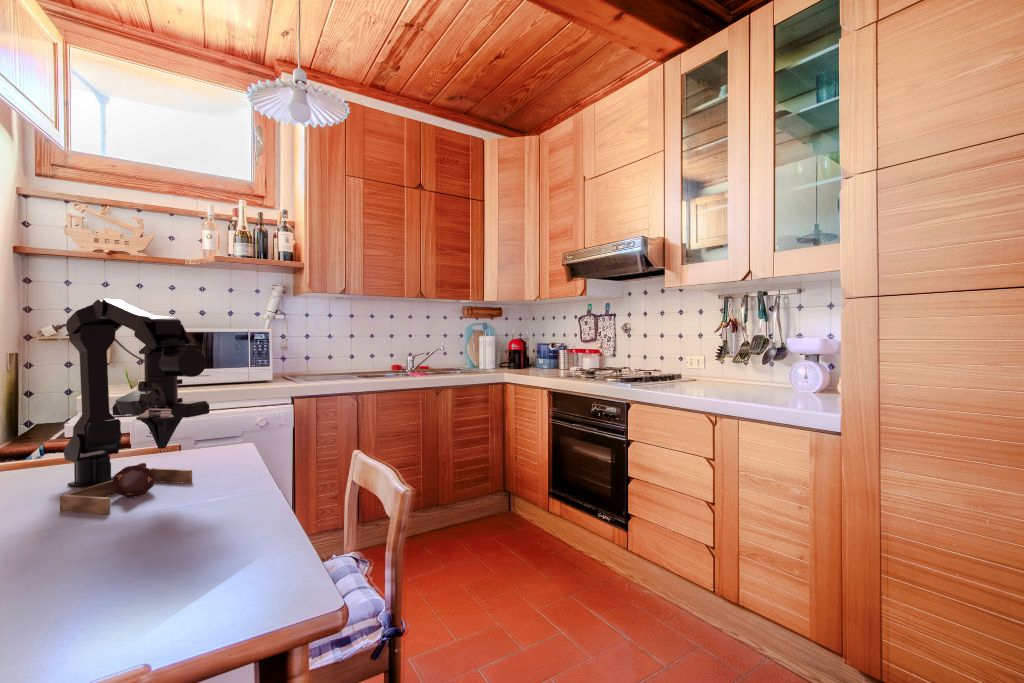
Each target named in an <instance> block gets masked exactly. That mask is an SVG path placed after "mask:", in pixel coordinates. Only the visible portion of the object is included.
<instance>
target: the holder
mask: <svg viewBox="0 0 1024 683" xmlns="http://www.w3.org/2000/svg"><path fill="white" fill-rule="evenodd" d="M149 469H150V470H151V471H152V473H153V476H154V478H155V481H163V482H162V483H171V482H180V483H179V484H188V483H190V484H192V483H193V470H192V469H181V468H179V469H178V468H164V467H162V468H161V467H151V468H149ZM112 481H113V480H111V481H107V482H104V483H101V484H97V485H94V486H91V487H83V488H82V489H78V490H75V491H71V492H69V493H65V494H61V495H59V512H67V511H72V512H71V513H80V512H85V513H84V514H94V513H97V514H98V515H108V514H111V497H110V496H113V495H116V494H117V493H116V492H115V489H114V485H113V484H112ZM181 482H183V483H181ZM191 482H192V483H191Z"/></svg>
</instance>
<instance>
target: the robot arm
mask: <svg viewBox="0 0 1024 683" xmlns="http://www.w3.org/2000/svg"><path fill="white" fill-rule="evenodd" d="M65 327H66V331H67V334H68V339H69V342H70V343H71V345H73V347H74V348H75V349H76V350H77V352H79V370H80V372H79V373H80V374H79V376H80V395H81V415H80V417H79V418H78V420H77V421H76V423H75V424H74V426H73V428H72V436H71V438H70V440H69V441H68V443H67V445H66V446H65V448H63V457H64V460H65V461H69V462H70V461H71V462H74V463H73V464H74V466H73V468H74V470H73V471H74V481H71V482H68V483H66V485H67V486H68V487H83V488H88V487H91V486H94V485H97V484H101V483H104V482H107V481H111V480H113V477H114V476H112V462H111V455H117V454H119V452H120V447H121V444H122V443H121V442H122V438H123V435H122V430H121V429H122V428H121V421H120V419H119V418H115V417H116V416H120V417H121V416H122V417H123V416H126V415H127V416H128V415H129V416H130V415H131V416H137V417H135V420H137V421H140V422H142V423H144V424H146V426H147V427H148V430H149V432H150V433H151V435H152V437H153V440H154V442H155V444H156V447H157V448H158V449H159V450H163V449H166V448H167V446H168V445H169V442H170V440H171V438H172V436H173V434H174V432H175V431H176V429H177V427H178V426H179V424H180V423H181V421H182V419H183V418H188V419H189V418H193V417H198V416H203V415H208V414H210V404H209V403H208V401H206V400H188V401H183V397H179V393H178V390H179V388H178V385H182V384H183V378H182V377H185V378H194V377H197V376H199V375H201V374H202V373H203V372H204V370H206V366H207V360H206V359H205V356H204V354H203V353H202V352H201V351H199V350H198V349H197V344H196V343H193V341H192V339H191V338H190V336H189V335H188V333H187V330H186V329H185V327H184V325H183V324H182V321H181V319H179V318H178V317H176V316H175V317H174V316H167V315H158V314H157V315H156V314H151V313H149V312H147V311H145V310H142V309H140V308H138V307H136V306H134V305H131V304H128V303H127V302H126V301H125V300H122V299H116V298H115V299H111V298H100V299H97V300H95V301H94V302H93V303H92V304H89V305H87V306H85V307H83V308H79V309H77V310H76V311H74V312H73V314H71V316H70V317H69V318H68V319H67V320H66V323H65ZM122 327H125V328H128V329H130V330H132V331H133V332H134V333H133V336H134V337H135V339H137V340H138V341H140V342H141V343H142V344H144V346H143V347H142V348H140V350H138V354H139V355H143V358H144V361H143V362H144V363H143V364H144V368H143V369H144V380H141V381H138V384H137V389H136V390H134V391H131V392H129V393H127V394H125V395H123V396H121V397H119V398H117V399H116V400H115V403H114V404H113V405H112V413H111V412H110V394H109V392H110V391H109V374H108V373H109V369H108V368H109V367H108V350H109V349H110V347H112V345H113V343H114V342H115V340H116V333H117V331H118V330H119V329H121V328H122ZM179 377H181V379H180V378H179Z"/></svg>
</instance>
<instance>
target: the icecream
mask: <svg viewBox="0 0 1024 683" xmlns="http://www.w3.org/2000/svg"><path fill="white" fill-rule="evenodd" d="M112 477H113V481H112V484H113V485H114V489H115V492H116V494H118V495H120V496H123V497H126V498H128V499H129V498H136V497H142V496H144V495H146V493H148V492H149V490H151V489H152V488H153V487H154V483H155V478H154V476H153V473H152V471H151V470H150V468H148V467H147V463H146V462H145V463H144V462H141V463H138V464H135V465H127V466H126V467H123V468H122V469H121V470H120V471H118V472H117V473H115V474H114V475H113V476H112ZM141 495H142V496H141ZM135 496H136V497H135Z"/></svg>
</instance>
